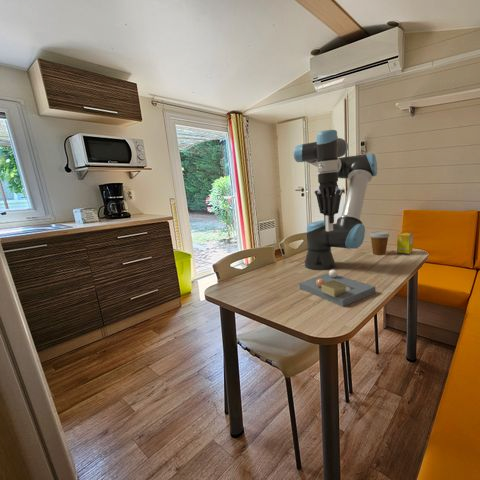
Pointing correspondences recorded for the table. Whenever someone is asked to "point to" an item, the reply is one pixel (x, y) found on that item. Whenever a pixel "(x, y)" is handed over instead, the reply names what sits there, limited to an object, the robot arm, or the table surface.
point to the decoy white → (332, 273)
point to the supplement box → (404, 243)
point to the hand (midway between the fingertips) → (329, 230)
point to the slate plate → (356, 293)
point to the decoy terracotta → (320, 282)
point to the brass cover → (333, 288)
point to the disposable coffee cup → (379, 242)
